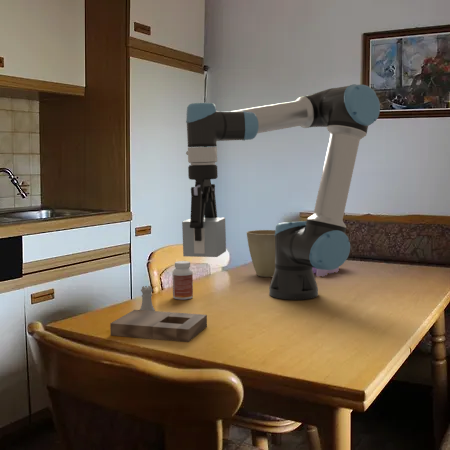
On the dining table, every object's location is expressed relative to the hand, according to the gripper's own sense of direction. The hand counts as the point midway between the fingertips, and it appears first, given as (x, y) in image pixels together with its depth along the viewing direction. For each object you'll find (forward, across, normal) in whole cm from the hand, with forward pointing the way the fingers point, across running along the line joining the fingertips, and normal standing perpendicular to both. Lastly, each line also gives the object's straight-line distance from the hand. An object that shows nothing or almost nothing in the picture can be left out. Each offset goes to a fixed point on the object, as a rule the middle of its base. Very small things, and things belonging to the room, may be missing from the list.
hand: (205, 250), depth 163 cm
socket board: (+18, +14, -8) cm, 24 cm away
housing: (+1, 0, 0) cm, 1 cm away
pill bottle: (+19, -23, -14) cm, 33 cm away
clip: (+21, -77, +21) cm, 83 cm away
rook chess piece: (+19, 0, -17) cm, 25 cm away
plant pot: (+20, -65, +3) cm, 68 cm away
